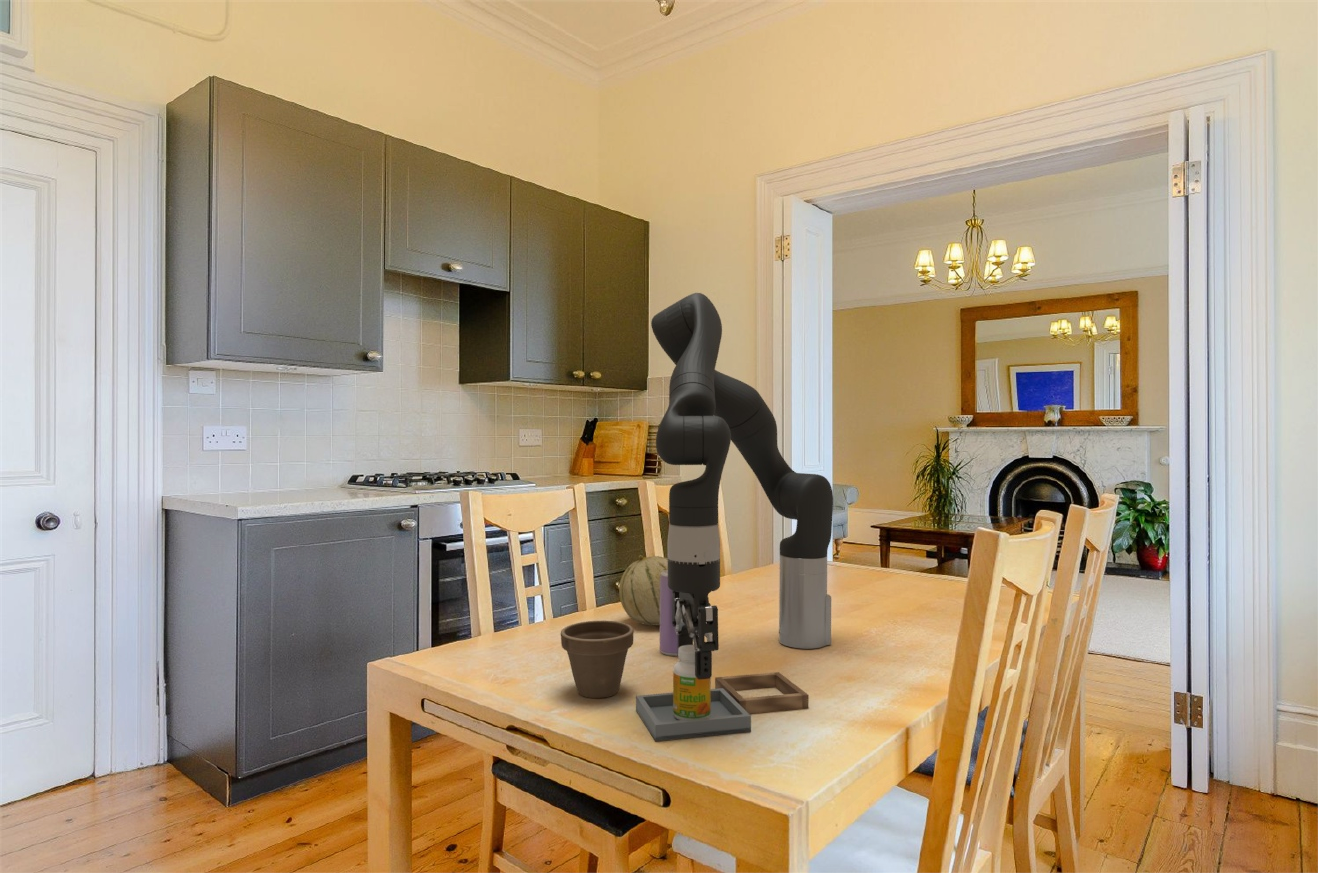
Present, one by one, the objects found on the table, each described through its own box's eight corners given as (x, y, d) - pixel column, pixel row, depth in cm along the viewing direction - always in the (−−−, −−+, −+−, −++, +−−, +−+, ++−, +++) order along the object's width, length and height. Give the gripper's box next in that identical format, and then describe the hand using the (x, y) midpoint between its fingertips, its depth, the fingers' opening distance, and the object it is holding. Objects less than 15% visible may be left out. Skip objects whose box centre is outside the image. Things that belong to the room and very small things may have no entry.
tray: (722, 702, 116) (722, 688, 116) (750, 731, 105) (751, 715, 105) (636, 710, 112) (636, 695, 112) (655, 741, 101) (655, 725, 101)
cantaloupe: (701, 626, 161) (701, 556, 161) (643, 637, 153) (643, 562, 152) (661, 612, 173) (662, 547, 173) (606, 621, 165) (606, 552, 165)
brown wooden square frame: (778, 684, 124) (778, 672, 124) (808, 708, 114) (808, 694, 114) (715, 689, 122) (715, 677, 122) (739, 714, 111) (739, 701, 111)
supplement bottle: (675, 724, 106) (675, 654, 106) (671, 709, 111) (671, 643, 111) (713, 723, 106) (713, 653, 106) (707, 708, 112) (707, 642, 112)
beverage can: (688, 657, 139) (688, 576, 139) (656, 655, 140) (656, 574, 140) (693, 648, 145) (694, 570, 144) (662, 646, 146) (663, 568, 146)
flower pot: (572, 709, 113) (572, 642, 113) (552, 685, 123) (552, 624, 123) (644, 699, 117) (644, 634, 117) (619, 676, 128) (619, 617, 128)
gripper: (655, 549, 114) (656, 656, 114) (683, 565, 100) (683, 687, 101) (703, 547, 116) (703, 652, 116) (736, 562, 102) (736, 682, 102)
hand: (694, 668), depth 108 cm, fingers open, 8 cm apart
